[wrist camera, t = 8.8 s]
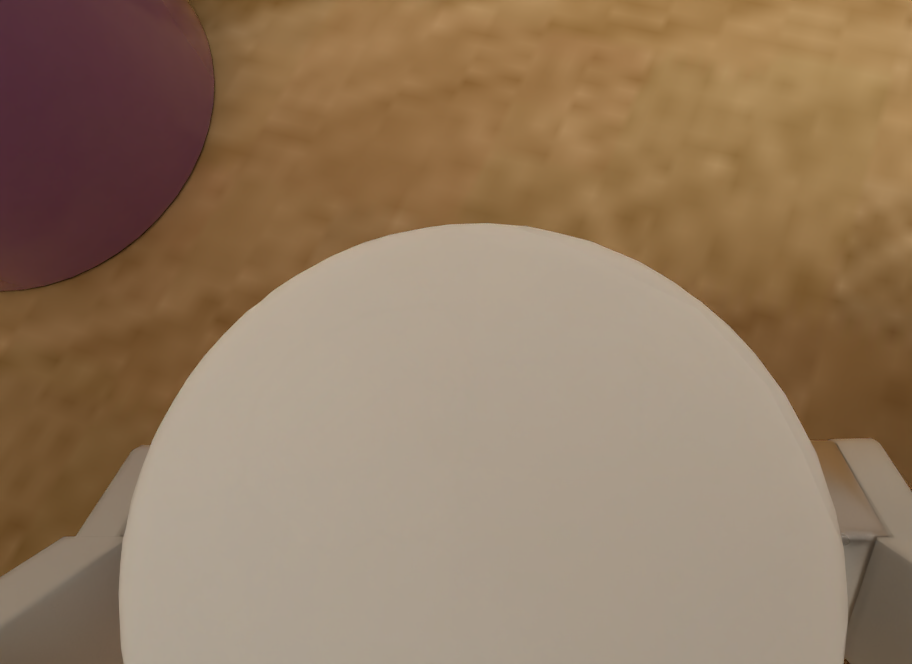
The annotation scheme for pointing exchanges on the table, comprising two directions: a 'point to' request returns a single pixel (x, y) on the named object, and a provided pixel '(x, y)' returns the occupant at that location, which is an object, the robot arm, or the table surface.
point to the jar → (94, 127)
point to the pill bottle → (481, 474)
